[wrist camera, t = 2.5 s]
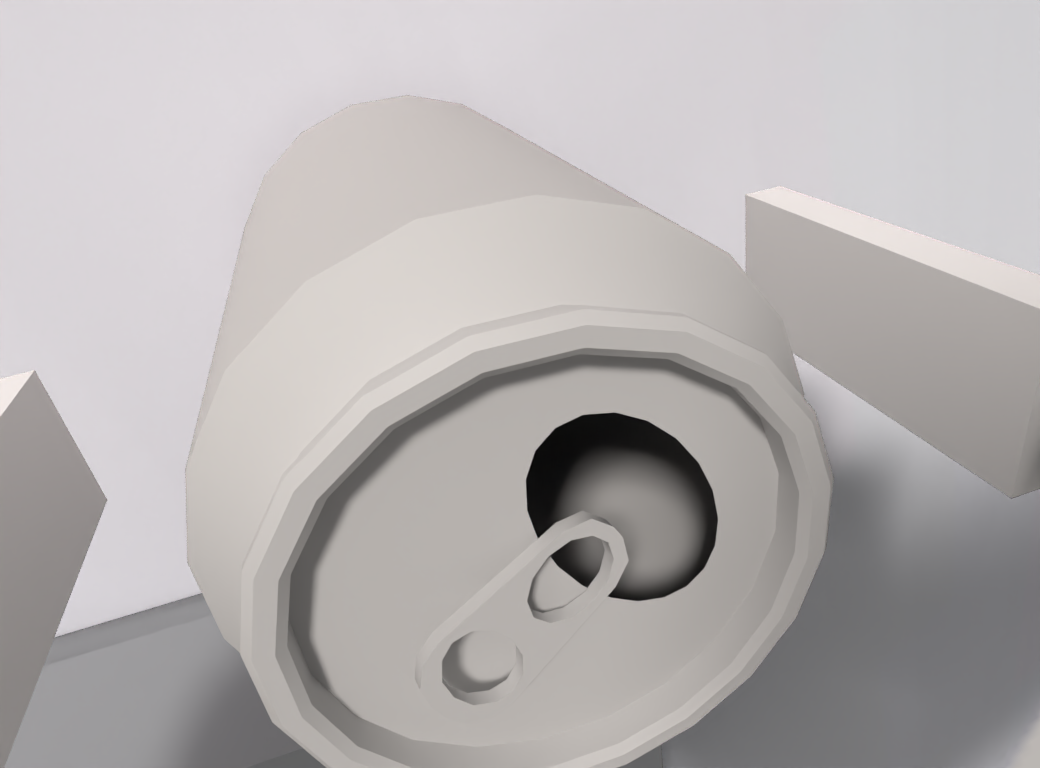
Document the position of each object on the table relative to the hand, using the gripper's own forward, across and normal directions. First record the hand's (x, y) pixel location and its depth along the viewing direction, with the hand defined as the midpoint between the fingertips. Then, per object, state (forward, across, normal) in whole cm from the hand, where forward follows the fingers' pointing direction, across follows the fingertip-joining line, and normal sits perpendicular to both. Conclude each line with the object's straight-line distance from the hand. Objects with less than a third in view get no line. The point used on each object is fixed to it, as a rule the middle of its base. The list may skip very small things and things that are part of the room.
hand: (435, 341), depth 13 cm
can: (+5, 0, 0) cm, 5 cm away
